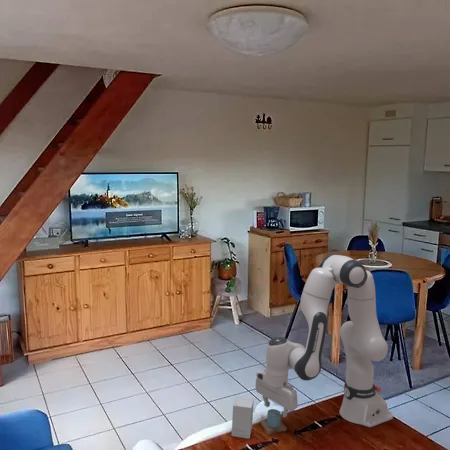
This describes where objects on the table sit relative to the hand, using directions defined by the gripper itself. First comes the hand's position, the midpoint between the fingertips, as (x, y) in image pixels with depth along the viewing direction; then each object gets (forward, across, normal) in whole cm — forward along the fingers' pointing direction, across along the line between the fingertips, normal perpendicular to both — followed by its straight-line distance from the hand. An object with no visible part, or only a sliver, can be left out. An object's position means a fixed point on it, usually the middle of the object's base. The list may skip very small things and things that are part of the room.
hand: (275, 411), depth 181 cm
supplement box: (+7, +5, +13) cm, 16 cm away
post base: (+7, 0, +1) cm, 7 cm away
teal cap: (+6, 0, +1) cm, 6 cm away
